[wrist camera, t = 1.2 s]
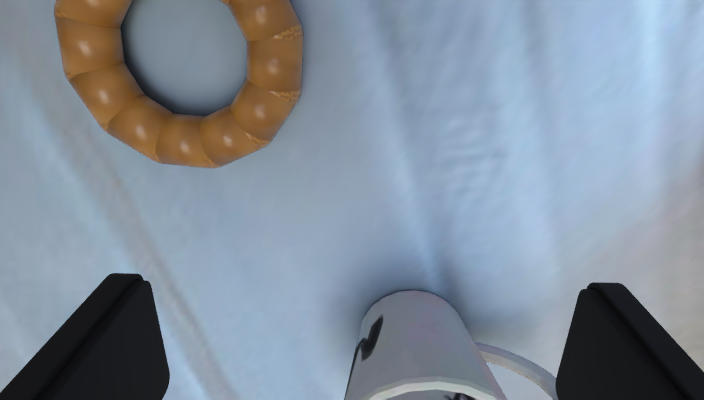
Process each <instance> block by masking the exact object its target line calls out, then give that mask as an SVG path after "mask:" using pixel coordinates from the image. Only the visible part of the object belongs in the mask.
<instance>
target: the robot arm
mask: <svg viewBox="0 0 704 400" xmlns="http://www.w3.org/2000/svg"><path fill="white" fill-rule="evenodd" d="M169 379H170V373H169V368H168V363H167V358H166V354H165V349H164V344H163V339H162V335H161V330H160V325H159V321H158V316H157V311H156V307H155V302H154V297H153V292H152V288H151V284H150V283H149V281H144V280H143V278H142V276H141V275H139V274H122V273H113V274H110V275H108V276H107V277H106V278H105V279H104V280H103V282H102V283H101V284H100V285H99V286H98V287H97V288H96V289H95V290H94V291H93V292H92V294H91V295H90V296H89V297H88V298H87V299H86V300H85V301H84V302H83V303H82V304H81V306H80V307H79V308H78V309H77V310H76V311H75V312H74V313H73V314H72V315H71V316H70V317H69V319H68V320H67V321H66V322H65V323H64V324H63V325H62V326H61V327H60V328H59V329H58V331H57V332H56V333H55V334H54V335H53V336H52V337H51V338H50V339H49V340H48V341H47V343H46V344H45V345H44V346H43V347H42V348H41V349H40V350H39V351H38V352H37V353H36V355H35V356H34V357H33V358H32V359H31V360H30V361H29V362H28V363H27V364H26V365H25V367H24V368H23V369H22V370H21V371H20V372H19V373H18V374H17V375H16V376H15V377H14V378H13V380H12V381H11V382H10V383H9V384H8V385H7V386H6V387H5V388H4V389H3V390H2V392H1V393H0V400H162V399H163V397H164V395H165V393H166V390H167V388H168V385H169ZM555 388H556V394H557V397H558V400H704V372H703V371H702V370H701V369H700V368H699V367H698V365H697V364H696V363H695V362H694V361H693V360H692V359H691V358H690V357H689V356H688V355H687V353H686V352H685V351H684V350H683V349H682V348H681V347H680V346H679V345H678V344H677V343H676V341H675V340H674V339H673V338H672V337H671V336H670V335H669V334H668V333H667V332H666V331H665V329H664V328H663V327H662V326H661V325H660V324H659V323H658V322H657V321H656V320H655V319H654V317H653V316H652V315H651V314H650V313H649V312H648V311H647V310H646V309H645V308H644V307H643V306H642V304H641V303H640V302H639V301H638V300H637V299H636V298H635V297H634V296H633V295H632V294H631V292H630V291H629V290H628V289H627V288H626V287H625V286H624V285H622V284H620V283H590V284H589V285H588V287H587V289H583V290H581V291H580V293H579V295H578V299H577V303H576V307H575V310H574V314H573V318H572V322H571V325H570V329H569V333H568V337H567V340H566V344H565V348H564V352H563V355H562V359H561V363H560V367H559V370H558V374H557V378H556V383H555Z"/></svg>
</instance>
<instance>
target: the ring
mask: <svg viewBox="0 0 704 400" xmlns="http://www.w3.org/2000/svg"><path fill="white" fill-rule="evenodd" d="M220 1H222V2H223V3H224V4H226V5H227V6H228V7H229V9H230V10H231V12H232V14H233V16H234V18H235V20H236V22H237V24H238V26H239V28H240V29H241V31H242V33H243V35H244V37H245V39H246V41H247V78H246V80H245V82H244V83H243V85H242V87H241V88H240V90H239V92H238V93H237V95H236V97H235V99H234V100H233V102H232V104H230V105H228V106H226V107H224V108H222V109H220V110H218V111H216V112H214V113H212V114H210V115H208V116H206V117H204V116H194V115H183V114H174V113H173V112H171V111H169V110H168V109H166V108H165V107H163V106H162V105H160V104H158V103H157V102H155V101H154V100H152V99H151V98H149V97H147V96H146V95H145V94H144V93H143V91H142V90H141V88H140V87H139V85H138V83H137V82H136V80H135V79H134V77H133V76H132V74H131V73H130V71H129V69H128V68H127V66H126V65H125V63H124V55H123V46H122V37H121V29H120V26H121V24H122V22H123V20H124V17H125V15H126V13H127V11H128V9H129V6H130V4H131V2H132V0H56V2H55V7H54V16H55V22H56V28H57V34H58V39H59V45H60V51H61V57H62V63H63V69H64V72H65V75H66V77H67V79H68V81H69V82H70V84H71V85H72V87H73V88H74V89H75V91H76V92H77V94H78V95H79V97H80V98H81V99H82V101H83V102H84V104H85V105H86V107H87V108H88V109H89V111H90V112H91V114H92V115H93V117H94V118H95V119H96V121H97V122H98V124H99V125H100V126H101V127H102V129H103V130H104V131H106V132H107V133H108V134H110V135H112V136H113V137H115V138H117V139H118V140H120V141H122V142H123V143H125V144H127V145H128V146H130V147H132V148H133V149H135V150H137V151H138V152H140V153H141V154H143V155H145V156H146V157H148V158H150V159H151V160H153V161H156V162H158V163H162V164H171V165H182V166H193V167H203V168H218V167H222V166H224V165H226V164H228V163H231V162H233V161H235V160H237V159H239V158H242V157H244V156H246V155H248V154H250V153H253V152H255V151H257V150H259V149H261V148H263V147H265V146H267V145H268V144H269V143H270V142H271V141H272V139H273V138H274V136H275V135H276V133H277V132H278V130H279V129H280V127H281V126H282V124H283V123H284V121H285V120H286V118H287V117H288V115H289V114H290V112H291V110H292V109H293V107H294V106H295V104H296V103H297V101H298V99H299V97H300V94H301V86H302V62H303V39H304V38H303V29H302V26H301V23H300V21H299V19H298V17H297V15H296V13H295V11H294V8H293V6H292V4H291V2H290V0H220Z"/></svg>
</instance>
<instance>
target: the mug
mask: <svg viewBox="0 0 704 400" xmlns="http://www.w3.org/2000/svg"><path fill="white" fill-rule="evenodd" d="M485 361H487V362H491V363H494V364H497V365H500V366H503V367H505V368H507V369H510V370H512V371H514V372H516V373H518V374H520V375H522V376H524V377H526V378H528V379H529V380H531V381H532V382H534V383H536V384H537V385H539V386H540V387H541V388H542V389H543V390H544V391H545V392H546V393H547V394H548V395H549V396H550V397H552V399H553V400H558V397H557V394H556V388H555V383H556V378H555V377H554V376H553V375H552V374H551V373H549V372H548V371H546V370H545V369H543V368H541V367H540V366H538V365H537V364H535V363H533V362H531V361H529V360H527V359H525V358H523V357H521V356H519V355H516V354H514V353H511V352H509V351H506V350H503V349H500V348H497V347H494V346H490V345H486V344H481V343H475V342H474V341H473V339H472V338H471V336H470V334H469V332H468V331H467V329H466V327H465V325H464V324H463V322H462V320H461V318H460V317H459V315H458V313H457V311H456V310H455V309H454V308H453V307H452V306H451V305H450V304H449V303H448V302H447V301H446V300H444V299H442V298H440V297H438V296H436V295H434V294H432V293H429V292H423V291H417V290H411V291H400V292H396V293H394V294H391V295H388V296H386V297H383V298H382V299H381V300H379V301H378V302H377V303H375V304H374V305H373V306H371V308H370V309H369V311H368V312H367V314H366V315H365V316H364V318H363V320H362V324H361V328H360V332H359V336H358V341H357V345H356V350H355V354H354V358H353V363H352V367H351V372H350V376H349V381H348V385H347V389H346V394H345V398H344V400H507V399H506V397H505V395H504V393H503V392H502V390H501V388H500V386H499V385H498V383H497V381H496V379H495V378H494V376H493V374H492V372H491V371H490V369H489V367H488V366H487V364H486V362H485Z"/></svg>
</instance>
